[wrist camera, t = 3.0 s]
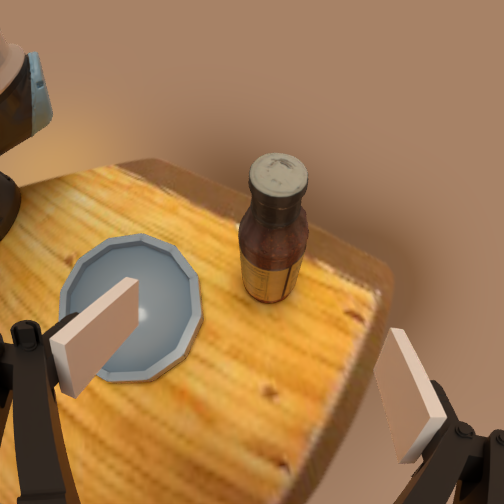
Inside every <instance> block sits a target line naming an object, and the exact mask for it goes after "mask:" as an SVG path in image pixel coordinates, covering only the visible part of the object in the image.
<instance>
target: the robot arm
mask: <svg viewBox="0 0 504 504" xmlns="http://www.w3.org/2000/svg"><path fill="white" fill-rule="evenodd" d="M52 117H53V111H52V107H51V103H50V99H49V95H48V91H47V87H46V83H45V79H44V75H43V71H42V66H41V63H40V58H39V56H38V53H37V52H32V53H28V54H27V55H25V53H24V50H23V49H22V47H21V46H19V45H17V44H7V43H6V40H5V38H4V36H3V34H2V32H1V30H0V156H1V155H2V154H4V153H5V152H7V151H8V150H10V149H12V148H13V147H15V146H16V145H18V144H20V143H21V142H23V141H25V140H26V139H28V138H30V137H32V136H34V134H35V133H37V132H38V131H40V130H41V129H42V128H44V127H46V126H47V125H48V124H49V123H50V121H51V120H52ZM20 201H21V194H20V190H19V188H18V186H17V185H16V184H15V182H14V181H13V180H12V179H11V178H10V177H8V176H7V175H5V174H3V173H2V172H0V240H1V239H2V238H3V237H4V236H5V234H6V233H7V232H8V230H9V229H10V227H11V226H12V224H13V222H14V220H15V218H16V216H17V213H18V210H19V207H20ZM138 302H139V280H137V279H133V278H129V277H125V278H124V279H123V280H121V281H120V282H119V283H118V284H116V285H115V286H114V287H112V288H111V289H110V290H109V291H107V292H106V293H105V294H104V295H102V296H101V297H100V298H99V299H97V300H96V301H95V302H94V303H92V304H91V305H90V306H89V307H87V308H86V309H85V310H84V311H82V312H81V313H78V312H74V313H71V314H69V315H66V316H65V317H64V318H63V319H61V320H60V322H58V323H56V324H55V326H53V327H51V328H50V329H49V330H48V331H46V332H45V333H44V334H43V335H42V334H41V329H40V326H39V324H38V323H37V322H35V321H32V320H24V321H19V322H17V323H15V324H14V325H13V326H12V327H11V329H10V331H11V335H12V339H13V343H14V344H9V343H4V342H3V338H2V335H1V334H0V446H1V442H2V437H3V433H4V429H5V425H6V421H7V417H8V414H9V410H10V406H11V403H12V399H13V424H14V440H15V452H16V461H17V470H18V477H19V484H20V490H21V496H20V497H18V498H17V504H81V503H80V500H79V497H78V493H77V490H76V487H75V483H74V480H73V476H72V473H71V469H70V465H69V461H68V457H67V453H66V448H65V444H64V439H63V434H62V429H61V424H60V419H59V413H58V407H57V401H56V394H55V390H54V387H55V386H56V384H57V383H58V382H59V385H60V389H61V392H62V393H64V394H66V395H68V396H71V397H73V398H75V399H76V398H77V397H78V396H79V394H80V393H81V392H82V391H83V390H84V388H85V387H86V386H87V385H88V384H89V382H90V381H91V380H92V379H93V378H94V376H95V375H96V374H97V373H98V372H99V370H100V369H101V368H102V367H103V366H104V365H105V363H106V362H107V361H108V360H109V359H110V357H111V356H112V355H113V354H114V353H115V352H116V350H117V349H118V348H119V347H120V346H121V345H122V344H123V342H124V341H125V340H126V339H127V338H128V337H129V335H130V334H131V333H132V332H133V331H134V330H135V329H136V327H137V326H138V325H139V311H138ZM373 371H374V374H375V378H376V381H377V384H378V388H379V391H380V395H381V398H382V402H383V405H384V409H385V413H386V416H387V419H388V424H389V428H390V431H391V435H392V439H393V443H394V447H395V451H396V455H397V459H398V463H399V464H406V463H407V464H409V463H415V462H416V461H417V459H418V458H419V457H420V455H421V454H422V457H423V460H424V461H423V463H422V464H421V465H420V466H419V468H418V469H417V470H416V472H414V474H413V475H412V478H411V480H410V481H409V483H408V484H407V486H406V487H405V489H404V490H403V491H402V493H401V494H400V495H399V497H398V498H397V500H396V501H395V502H394V503H393V504H446V502H447V501H448V499H449V497H450V495H451V493H452V491H453V489H454V487H455V485H456V490H455V495H454V501H453V504H504V431H503V430H499V429H497V430H494V431H493V432H492V433H491V434H490V436H489V437H482V436H478V435H476V434H475V431H474V429H473V428H472V427H471V426H470V425H468V424H467V423H464V422H461V421H459V420H458V418H457V416H456V414H455V411H454V409H453V407H452V406H451V404H450V402H449V399H448V397H447V396H446V394H445V392H444V390H443V388H442V387H441V386H440V385H439V384H438V383H437V382H436V381H435V380H429V378H428V376H427V374H426V372H425V370H424V368H423V366H422V364H421V362H420V360H419V358H418V356H417V354H416V352H415V351H414V349H413V347H412V345H411V343H410V341H409V339H408V337H407V336H406V334H405V332H404V330H403V329H396V328H390V329H389V332H388V335H387V337H386V340H385V343H384V345H383V348H382V350H381V353H380V355H379V358H378V360H377V363H376V365H375V367H374V370H373ZM456 483H457V484H456Z"/></svg>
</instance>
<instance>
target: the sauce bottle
mask: <svg viewBox="0 0 504 504" xmlns="http://www.w3.org/2000/svg"><path fill="white" fill-rule="evenodd" d="M307 185H308V172H307V170H306V167H305V166H304V164H303V163H302V162H301V161H300V160H298V159H297V158H295V157H293V156H291V155H287V154H282V153H270V154H266V155H263V156H261V157H259V158H258V159H257V160H256V161H255V162H254V163H253V164H252V165H251V167H250V171H249V188H250V191H251V193H252V200H251V205H250V207H249V208H248V210H247V212H246V213H245V215H244V216H243V218H242V220H241V222H240V226H239V234H238V237H239V248H240V259H241V268H242V278H243V283H244V285H245V288H246V290H247V291H248V292H249V293H250V295H252V296H253V297H254V298H255V299H257V300H259V301H260V302H263V303H272V302H277V301H281V300H283V299H284V298H286V297H287V296H288V294H289V293H290V291H291V290H292V289H293V287H294V286H295V283H296V280H297V276H298V273H299V270H300V266H301V263H302V260H303V256H304V253H305V250H306V244H307V239H308V233H309V230H308V222H307V219H306V211H305V210H304V209H303V208H302V206H301V199H302V197H303V196H304V195H305V192H306V190H307Z"/></svg>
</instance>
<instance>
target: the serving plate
mask: <svg viewBox="0 0 504 504" xmlns="http://www.w3.org/2000/svg"><path fill="white" fill-rule="evenodd" d="M125 277H129V278H133V279H137V280H139V302H138V311H139V325H138V326H137V327H136V329H135V330H134V331H133V332H132V333H131V334H130V335H129V337H128V338H127V339H126V340H125V341H124V342H123V344H122V345H121V346H120V347H119V348H118V349H117V350H116V352H115V353H114V354H113V355H112V356H111V357H110V359H109V360H108V361H107V362H106V363H105V365H104V366H103V367H102V368H101V369H100V370H99V372H98V373H97V374H96V375H97V376H99V377H101V378H102V379H104V380H106V381H108V382H112V383H132V382H152V381H154V380H156V379H157V378H159V377H160V376H161V375H163V374H164V373H166V372H167V371H169V370H170V369H171V368H173V367H174V366H176V365H177V364H179V363H180V362H181V361H183V360H184V359H186V357H187V356H188V354H189V351H190V349H191V347H192V345H193V343H194V340H195V338H196V336H197V334H198V332H199V329H200V327H201V325H202V323H203V320H204V318H203V309H202V299H201V289H200V281H199V278H198V275H197V274H196V272H195V271H194V270H193V268H192V267H191V266H190V264H189V263H188V262H187V261H186V259H185V258H184V257H183V255H182V254H181V253H180V251H179V250H178V249H177V247H176V246H175V245H172V244H169V243H167V242H164V241H161V240H159V239H156V238H154V237H151V236H148V235H146V234H142V233H141V234H134V235H128V236H121V237H114V238H108V239H106V240H105V241H103V242H102V243H101V244H99V245H98V246H96V247H95V248H93V249H92V250H90V251H89V252H88V253H86V254H85V255H83V256H82V257H81V258H79V259H78V261H77V262H76V264H75V266H74V268H73V269H72V271H71V273H70V275H69V276H68V278H67V280H66V282H65V283H64V285H63V287H62V289H61V291H60V305H59V322H60V320H61V319H63V318H64V317H65V316H66V315H69V314H71V313H74V312H78V313H81V312H82V311H84V310H85V309H86V308H87V307H89V306H90V305H91V304H92V303H94V302H95V301H96V300H97V299H99V298H100V297H101V296H102V295H104V294H105V293H106V292H107V291H109V290H110V289H111V288H112V287H114V286H115V285H116V284H118V283H119V282H120V281H121V280H123V279H124V278H125Z"/></svg>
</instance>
